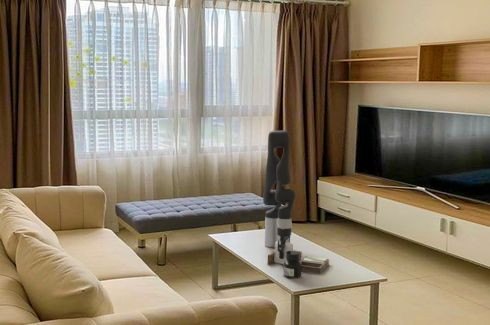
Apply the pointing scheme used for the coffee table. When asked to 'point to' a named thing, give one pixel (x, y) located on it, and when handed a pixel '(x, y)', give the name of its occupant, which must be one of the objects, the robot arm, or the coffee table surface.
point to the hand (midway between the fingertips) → (283, 256)
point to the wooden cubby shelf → (272, 254)
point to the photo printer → (287, 248)
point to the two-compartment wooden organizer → (314, 264)
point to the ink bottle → (292, 265)
